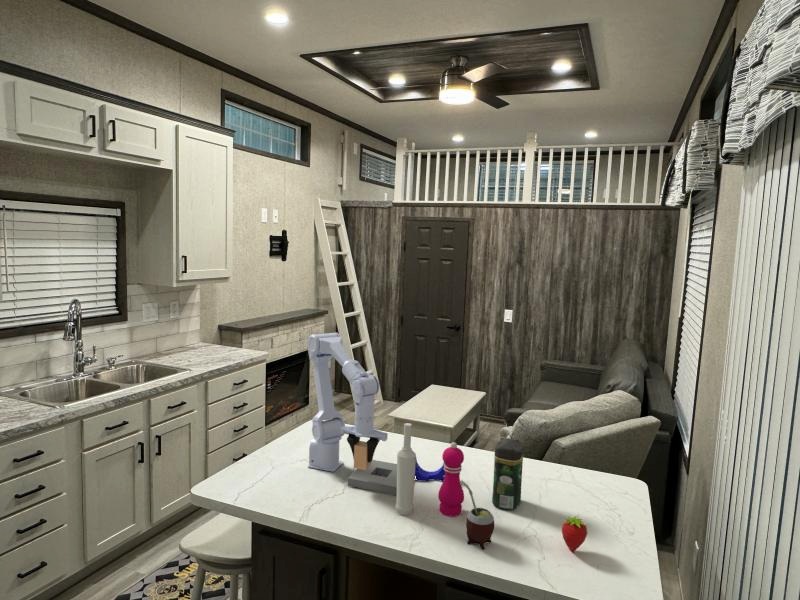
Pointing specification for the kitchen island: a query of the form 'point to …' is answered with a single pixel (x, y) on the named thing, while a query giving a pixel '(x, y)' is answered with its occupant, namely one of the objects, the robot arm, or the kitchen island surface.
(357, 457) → the plug
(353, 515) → the kitchen island surface
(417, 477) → the cable clip
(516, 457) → the coffee jar
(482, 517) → the mate gourd
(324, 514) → the kitchen island surface
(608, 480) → the kitchen island surface
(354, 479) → the socket plate
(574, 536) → the strawberry
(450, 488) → the pepper mill
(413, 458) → the bottle
